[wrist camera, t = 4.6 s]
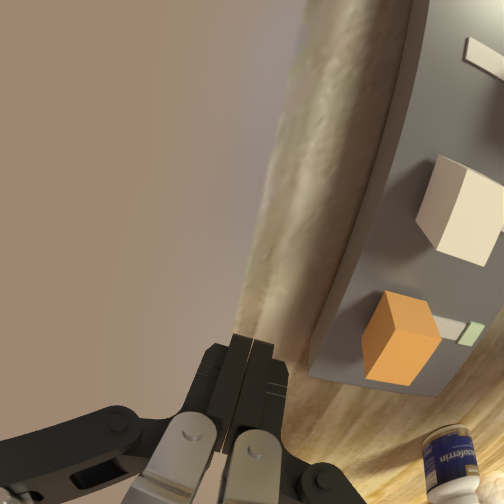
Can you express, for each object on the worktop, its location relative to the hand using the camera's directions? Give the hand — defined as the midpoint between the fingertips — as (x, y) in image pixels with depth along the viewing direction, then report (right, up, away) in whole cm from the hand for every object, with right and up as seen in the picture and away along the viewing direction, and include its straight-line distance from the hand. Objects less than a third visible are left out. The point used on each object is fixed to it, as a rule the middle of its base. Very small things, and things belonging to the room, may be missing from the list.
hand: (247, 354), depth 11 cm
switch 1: (+8, 0, +4) cm, 9 cm away
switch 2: (+9, +6, +1) cm, 11 cm away
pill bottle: (+21, -16, +14) cm, 30 cm away
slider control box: (+12, +10, +3) cm, 16 cm away
